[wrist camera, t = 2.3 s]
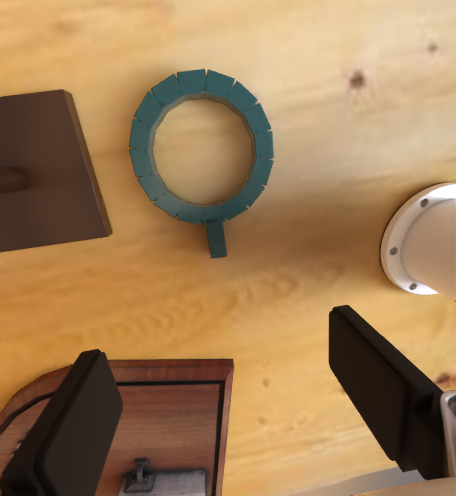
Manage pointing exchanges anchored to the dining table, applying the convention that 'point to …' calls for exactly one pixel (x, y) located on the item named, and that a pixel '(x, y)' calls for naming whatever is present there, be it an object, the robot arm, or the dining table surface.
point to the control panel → (148, 426)
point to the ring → (144, 134)
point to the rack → (46, 174)
